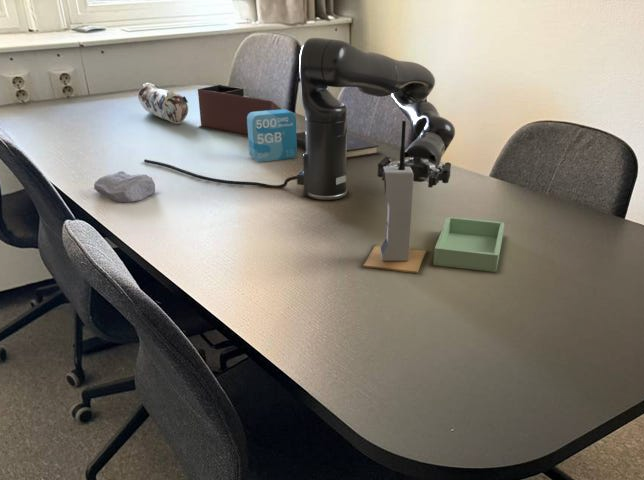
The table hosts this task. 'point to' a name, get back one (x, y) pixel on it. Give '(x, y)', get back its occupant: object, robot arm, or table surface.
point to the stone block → (125, 186)
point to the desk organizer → (229, 109)
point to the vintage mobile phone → (398, 208)
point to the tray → (469, 244)
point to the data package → (272, 135)
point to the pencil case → (163, 103)
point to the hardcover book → (354, 146)
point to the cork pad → (402, 266)
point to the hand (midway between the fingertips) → (408, 180)
